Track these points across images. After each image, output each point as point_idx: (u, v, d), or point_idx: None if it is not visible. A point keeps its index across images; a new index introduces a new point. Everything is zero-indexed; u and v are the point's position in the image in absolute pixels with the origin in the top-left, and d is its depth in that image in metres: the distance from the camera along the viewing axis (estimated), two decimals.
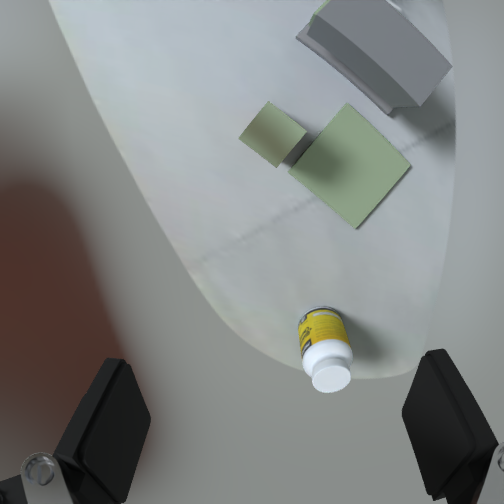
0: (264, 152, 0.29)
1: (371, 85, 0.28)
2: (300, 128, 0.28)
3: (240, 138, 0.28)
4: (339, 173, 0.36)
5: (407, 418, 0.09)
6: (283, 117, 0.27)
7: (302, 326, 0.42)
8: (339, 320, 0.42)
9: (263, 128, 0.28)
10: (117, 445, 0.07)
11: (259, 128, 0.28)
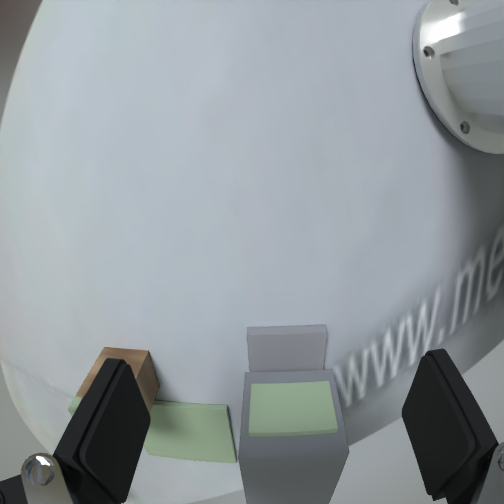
0: None
1: None
2: None
3: (70, 411, 0.19)
4: (165, 431, 0.30)
5: (407, 418, 0.09)
6: None
7: None
8: None
9: None
10: (117, 445, 0.07)
11: None
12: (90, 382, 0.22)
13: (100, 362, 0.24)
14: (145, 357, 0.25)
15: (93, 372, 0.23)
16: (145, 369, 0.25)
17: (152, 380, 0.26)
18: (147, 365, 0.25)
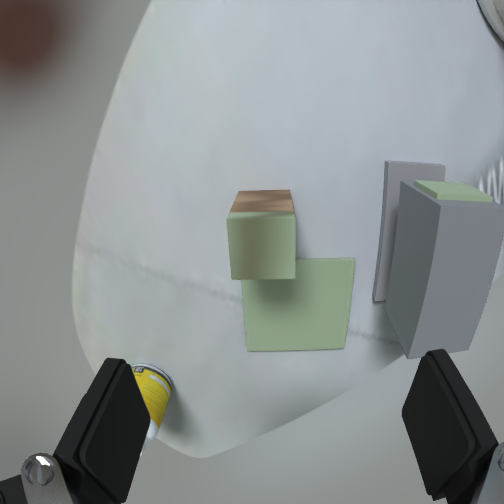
0: (236, 256, 0.22)
1: (392, 281, 0.26)
2: (292, 270, 0.22)
3: (228, 221, 0.21)
4: (281, 304, 0.32)
5: (407, 418, 0.09)
6: (290, 246, 0.22)
7: None
8: (167, 397, 0.37)
9: (260, 236, 0.21)
10: (117, 445, 0.07)
11: (256, 232, 0.21)
12: (241, 205, 0.24)
13: (241, 196, 0.26)
14: (289, 192, 0.27)
15: (239, 201, 0.25)
16: None
17: None
18: None
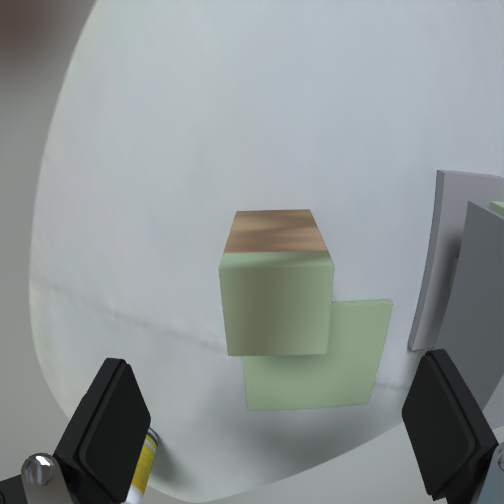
0: (235, 324, 0.14)
1: (445, 334, 0.17)
2: (323, 343, 0.14)
3: (222, 272, 0.13)
4: (293, 359, 0.24)
5: (407, 418, 0.09)
6: (322, 309, 0.13)
7: None
8: (152, 455, 0.27)
9: (274, 295, 0.13)
10: (117, 445, 0.07)
11: (269, 289, 0.13)
12: (241, 238, 0.16)
13: (241, 221, 0.18)
14: (310, 214, 0.19)
15: (238, 229, 0.17)
16: None
17: None
18: None
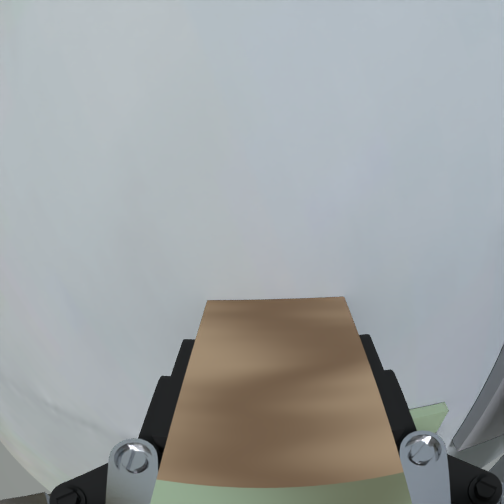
0: None
1: None
2: None
3: None
4: None
5: None
6: None
7: None
8: None
9: None
10: None
11: None
12: (205, 413, 0.06)
13: (212, 340, 0.09)
14: (348, 312, 0.09)
15: (202, 374, 0.07)
16: None
17: None
18: None
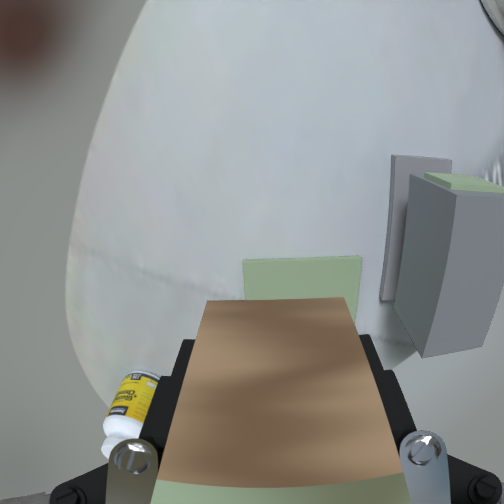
0: None
1: (402, 278, 0.25)
2: None
3: None
4: None
5: None
6: None
7: (130, 382, 0.34)
8: None
9: None
10: None
11: None
12: (205, 413, 0.06)
13: (211, 340, 0.09)
14: (348, 312, 0.09)
15: (202, 375, 0.07)
16: None
17: None
18: None
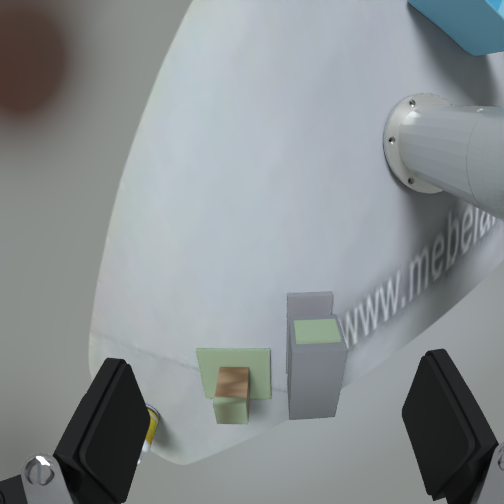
0: (218, 416, 0.41)
1: None
2: (246, 421, 0.41)
3: (214, 405, 0.40)
4: None
5: (407, 418, 0.09)
6: (244, 414, 0.41)
7: None
8: (156, 424, 0.52)
9: (229, 410, 0.40)
10: (117, 445, 0.07)
11: (227, 409, 0.40)
12: (220, 388, 0.43)
13: (221, 376, 0.45)
14: (248, 370, 0.46)
15: (219, 382, 0.44)
16: (248, 377, 0.46)
17: (249, 383, 0.47)
18: (248, 375, 0.47)
